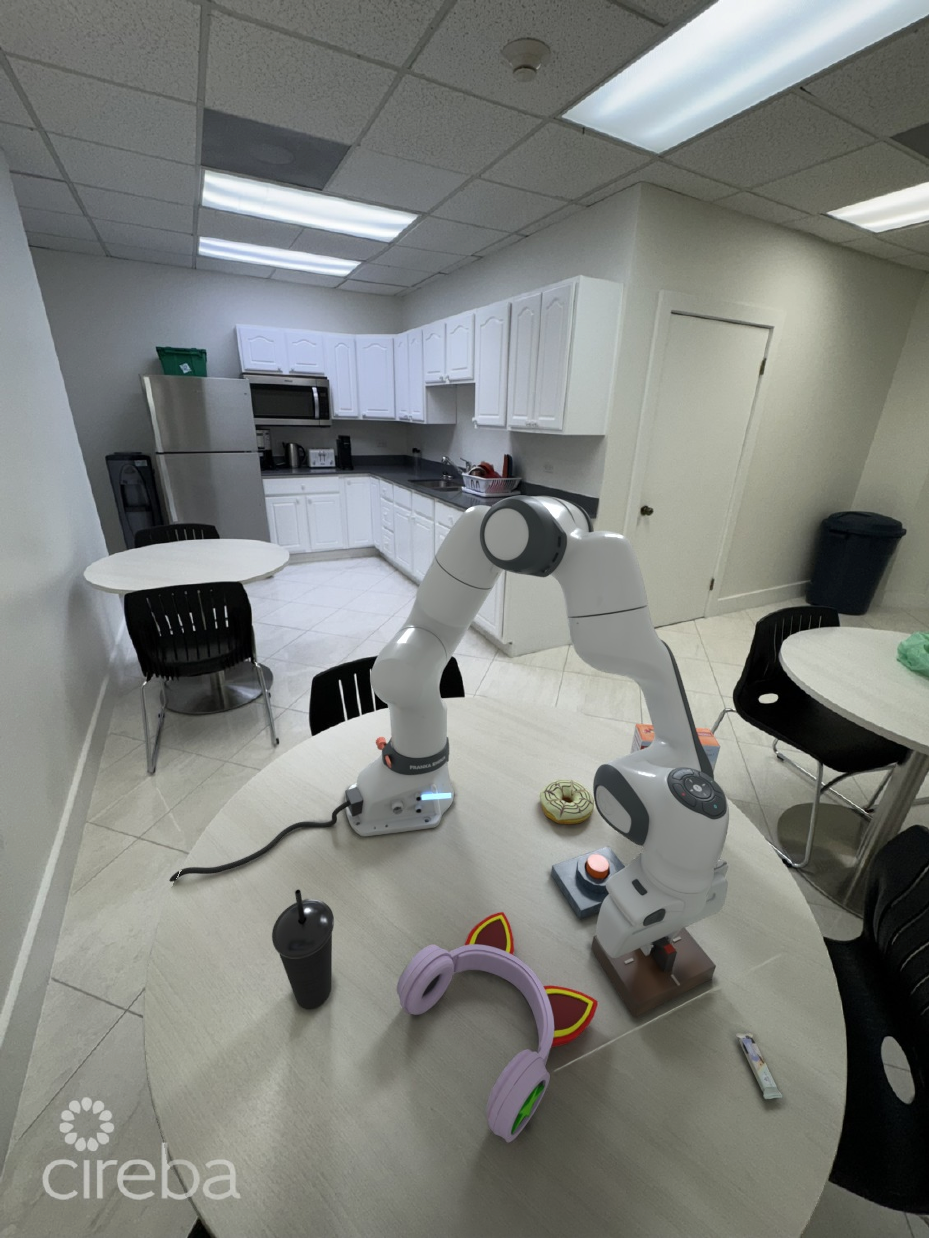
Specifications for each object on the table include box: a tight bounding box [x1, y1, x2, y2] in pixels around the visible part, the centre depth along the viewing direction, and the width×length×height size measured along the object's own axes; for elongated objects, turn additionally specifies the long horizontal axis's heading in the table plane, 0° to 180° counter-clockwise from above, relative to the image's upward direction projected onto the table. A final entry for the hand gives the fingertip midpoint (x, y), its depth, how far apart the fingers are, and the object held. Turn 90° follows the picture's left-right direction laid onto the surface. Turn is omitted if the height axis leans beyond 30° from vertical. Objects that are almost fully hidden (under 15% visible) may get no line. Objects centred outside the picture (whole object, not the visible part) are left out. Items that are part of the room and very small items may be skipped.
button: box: [586, 854, 609, 879], centre depth 83 cm, size 4×4×2 cm
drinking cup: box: [271, 888, 335, 1011], centre depth 65 cm, size 8×8×20 cm
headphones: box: [396, 911, 599, 1143], centre depth 65 cm, size 20×10×20 cm
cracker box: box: [629, 723, 721, 773], centre depth 95 cm, size 14×6×21 cm, turn 84°
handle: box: [651, 937, 677, 972], centre depth 71 cm, size 6×2×4 cm, turn 22°
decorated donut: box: [539, 778, 595, 825], centre depth 101 cm, size 10×11×4 cm
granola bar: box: [735, 1032, 784, 1100], centre depth 62 cm, size 7×2×1 cm, turn 2°
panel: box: [590, 927, 717, 1018], centre depth 73 cm, size 14×10×3 cm
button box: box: [550, 845, 626, 920], centre depth 84 cm, size 12×9×4 cm
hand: (654, 945), depth 72 cm, fingers closed on handle, 2 cm apart
